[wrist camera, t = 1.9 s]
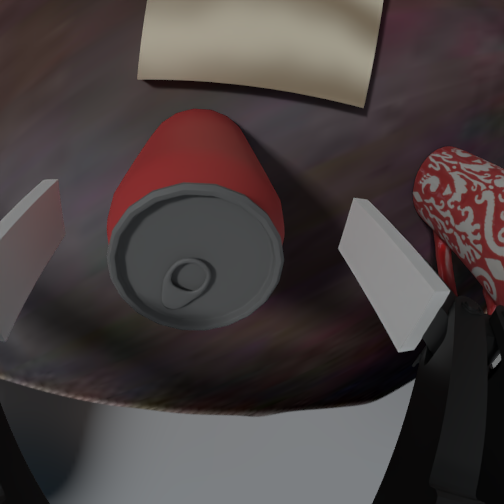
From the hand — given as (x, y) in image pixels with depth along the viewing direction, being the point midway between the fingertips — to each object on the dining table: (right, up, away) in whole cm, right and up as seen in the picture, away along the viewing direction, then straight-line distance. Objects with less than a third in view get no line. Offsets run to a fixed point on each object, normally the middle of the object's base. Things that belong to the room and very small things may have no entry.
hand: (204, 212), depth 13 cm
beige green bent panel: (+4, +19, -3) cm, 20 cm away
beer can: (-1, +4, +6) cm, 8 cm away
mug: (+18, +3, +11) cm, 21 cm away
